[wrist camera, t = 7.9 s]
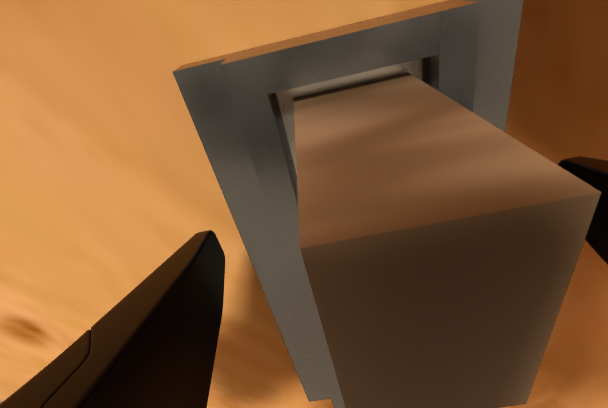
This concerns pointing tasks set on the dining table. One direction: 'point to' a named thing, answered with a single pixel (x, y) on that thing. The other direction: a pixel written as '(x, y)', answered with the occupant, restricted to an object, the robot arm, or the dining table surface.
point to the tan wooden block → (431, 245)
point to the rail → (281, 131)
